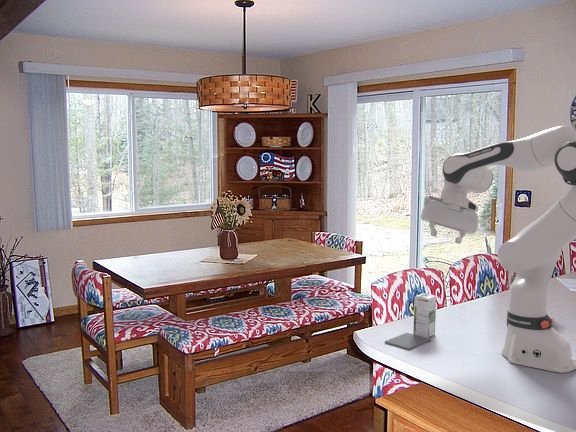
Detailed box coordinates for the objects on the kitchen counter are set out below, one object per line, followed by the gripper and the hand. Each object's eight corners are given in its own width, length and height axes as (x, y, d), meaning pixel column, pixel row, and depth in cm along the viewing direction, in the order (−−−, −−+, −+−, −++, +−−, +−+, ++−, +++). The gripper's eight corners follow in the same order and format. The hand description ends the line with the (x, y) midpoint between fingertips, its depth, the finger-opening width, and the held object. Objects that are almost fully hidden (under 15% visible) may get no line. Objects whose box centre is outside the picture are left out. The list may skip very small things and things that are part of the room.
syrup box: (420, 331, 209) (421, 292, 207) (435, 334, 205) (436, 295, 204) (413, 335, 205) (413, 295, 203) (428, 339, 201) (429, 298, 199)
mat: (431, 340, 199) (431, 339, 199) (409, 350, 190) (409, 348, 190) (406, 334, 206) (406, 332, 206) (384, 343, 197) (384, 341, 197)
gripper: (429, 192, 199) (422, 230, 196) (482, 208, 203) (476, 246, 200) (421, 195, 205) (414, 232, 203) (473, 211, 209) (466, 247, 206)
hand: (445, 239), depth 201 cm, fingers open, 8 cm apart
